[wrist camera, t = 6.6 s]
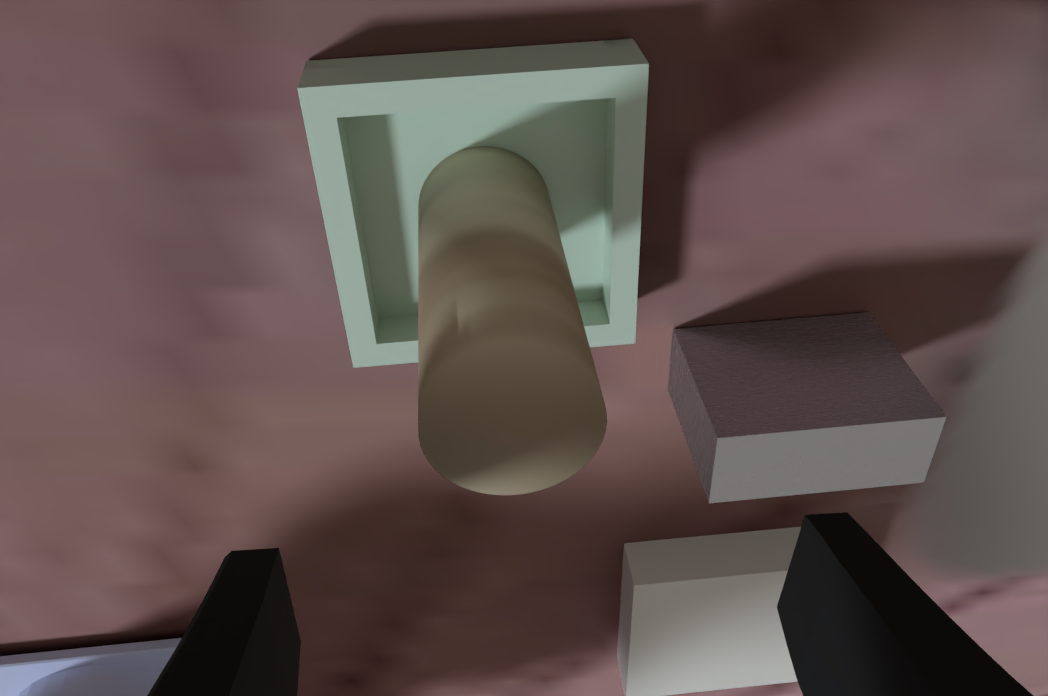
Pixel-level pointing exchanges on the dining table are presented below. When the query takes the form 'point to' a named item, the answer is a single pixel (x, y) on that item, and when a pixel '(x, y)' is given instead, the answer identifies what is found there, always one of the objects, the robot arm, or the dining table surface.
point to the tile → (704, 613)
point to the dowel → (500, 331)
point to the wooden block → (800, 407)
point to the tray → (464, 122)
